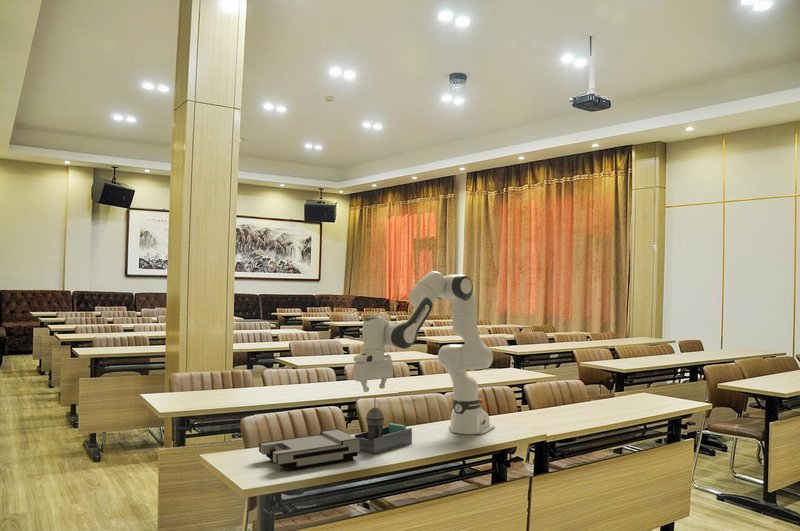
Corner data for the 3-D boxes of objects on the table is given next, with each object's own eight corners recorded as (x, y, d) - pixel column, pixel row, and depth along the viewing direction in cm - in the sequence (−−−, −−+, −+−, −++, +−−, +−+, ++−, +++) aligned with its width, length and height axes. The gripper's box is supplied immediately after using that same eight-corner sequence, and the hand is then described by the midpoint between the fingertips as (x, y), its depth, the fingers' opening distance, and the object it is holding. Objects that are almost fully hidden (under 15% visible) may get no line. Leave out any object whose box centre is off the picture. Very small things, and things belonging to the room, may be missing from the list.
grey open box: (392, 438, 258) (392, 424, 259) (411, 442, 251) (411, 428, 251) (354, 449, 241) (354, 434, 241) (374, 454, 234) (374, 438, 234)
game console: (259, 461, 227) (259, 439, 227) (336, 449, 243) (335, 429, 244) (277, 475, 209) (277, 451, 209) (359, 461, 225) (359, 439, 226)
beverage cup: (384, 444, 245) (383, 395, 246) (384, 449, 237) (383, 398, 238) (366, 444, 244) (366, 395, 245) (366, 449, 237) (365, 398, 238)
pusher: (391, 437, 256) (390, 423, 256) (406, 440, 250) (405, 425, 251) (388, 438, 255) (388, 423, 255) (403, 440, 249) (403, 426, 249)
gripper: (385, 352, 253) (385, 385, 253) (350, 357, 238) (351, 392, 238) (396, 353, 249) (396, 387, 249) (361, 358, 234) (362, 394, 233)
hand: (374, 390), depth 243 cm, fingers open, 8 cm apart
